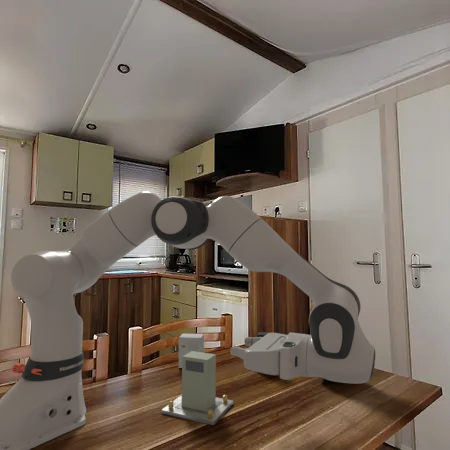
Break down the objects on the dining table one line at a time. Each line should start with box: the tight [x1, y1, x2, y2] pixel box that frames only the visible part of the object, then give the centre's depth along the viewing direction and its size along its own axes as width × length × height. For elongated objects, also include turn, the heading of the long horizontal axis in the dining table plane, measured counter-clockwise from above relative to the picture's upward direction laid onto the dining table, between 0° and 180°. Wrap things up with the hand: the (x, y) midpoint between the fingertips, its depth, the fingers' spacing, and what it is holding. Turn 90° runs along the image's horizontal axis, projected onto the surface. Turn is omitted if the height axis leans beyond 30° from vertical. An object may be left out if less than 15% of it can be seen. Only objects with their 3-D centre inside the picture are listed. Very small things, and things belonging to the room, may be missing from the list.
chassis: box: [160, 394, 234, 426], centre depth 83 cm, size 12×14×2 cm
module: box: [181, 351, 217, 412], centre depth 84 cm, size 5×7×12 cm
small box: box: [178, 333, 205, 369], centre depth 115 cm, size 8×6×10 cm
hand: (238, 345), depth 80 cm, fingers open, 8 cm apart
